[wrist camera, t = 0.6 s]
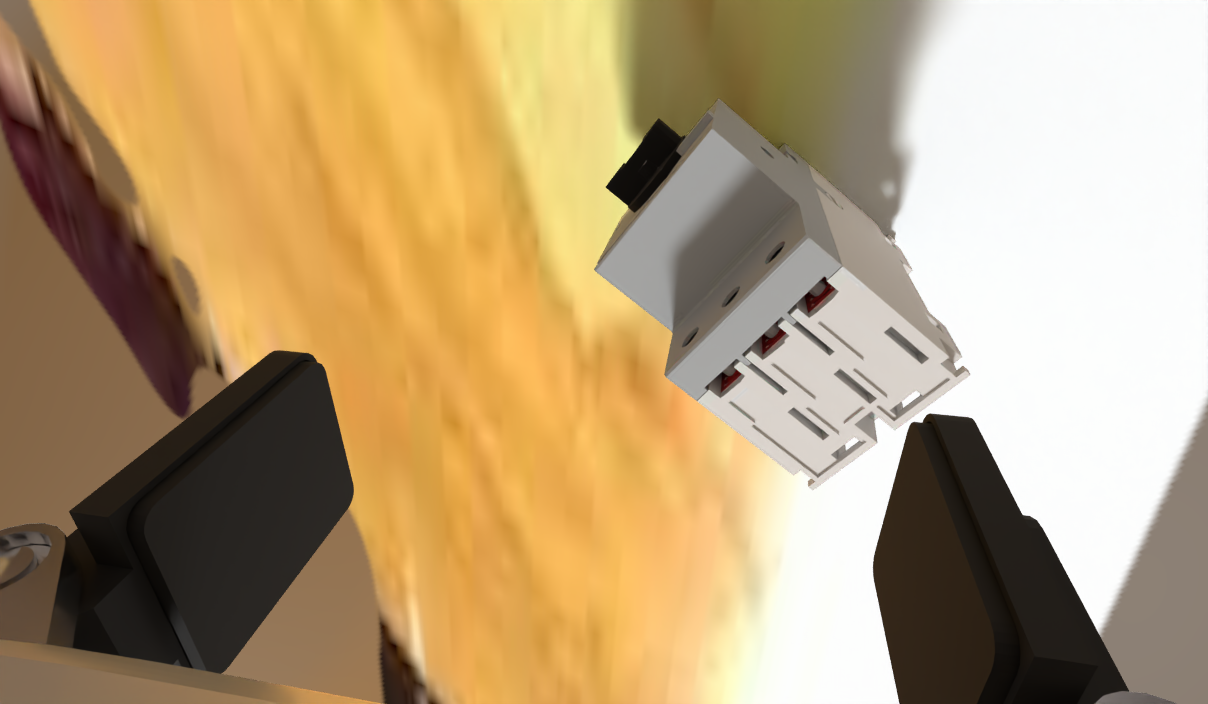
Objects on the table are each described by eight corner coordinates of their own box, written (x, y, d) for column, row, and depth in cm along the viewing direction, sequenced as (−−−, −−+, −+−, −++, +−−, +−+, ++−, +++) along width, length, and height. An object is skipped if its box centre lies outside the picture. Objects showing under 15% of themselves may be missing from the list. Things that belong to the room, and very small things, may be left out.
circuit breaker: (696, 65, 34) (666, 115, 21) (894, 239, 37) (975, 379, 24) (609, 178, 38) (538, 279, 25) (794, 329, 40) (817, 493, 27)
